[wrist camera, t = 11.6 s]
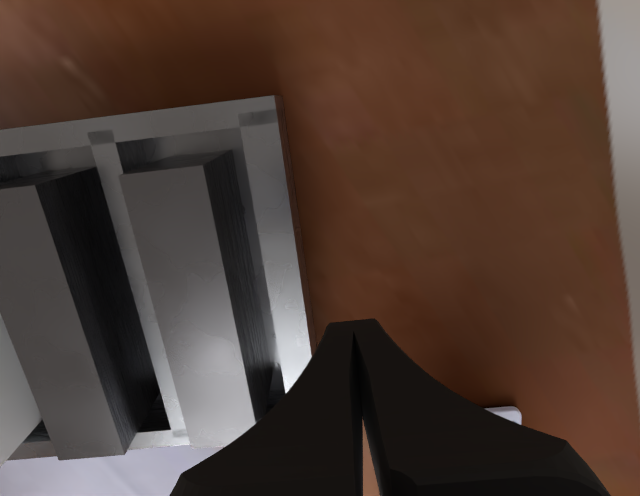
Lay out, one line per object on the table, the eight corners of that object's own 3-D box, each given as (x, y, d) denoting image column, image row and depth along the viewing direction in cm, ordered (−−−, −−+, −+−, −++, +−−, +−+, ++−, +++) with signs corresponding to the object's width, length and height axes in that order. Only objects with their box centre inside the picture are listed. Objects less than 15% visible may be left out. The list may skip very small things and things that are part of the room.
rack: (322, 390, 25) (322, 473, 19) (-13, 421, 26) (-104, 509, 20) (282, 95, 20) (265, 94, 14) (-135, 148, 21) (-302, 166, 15)
